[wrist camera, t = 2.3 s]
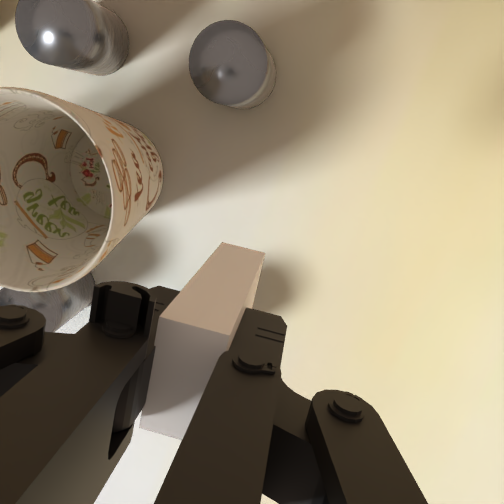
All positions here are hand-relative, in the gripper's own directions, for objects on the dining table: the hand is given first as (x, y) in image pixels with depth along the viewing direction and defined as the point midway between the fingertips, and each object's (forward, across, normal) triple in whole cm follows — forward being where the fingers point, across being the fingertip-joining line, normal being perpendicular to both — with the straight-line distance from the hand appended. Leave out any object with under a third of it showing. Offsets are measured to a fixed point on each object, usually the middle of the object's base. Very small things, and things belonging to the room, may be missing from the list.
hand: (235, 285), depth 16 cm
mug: (+13, -12, 0) cm, 17 cm away
